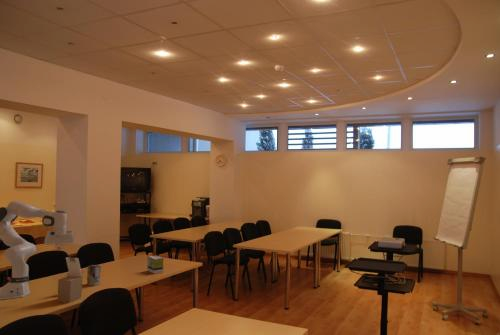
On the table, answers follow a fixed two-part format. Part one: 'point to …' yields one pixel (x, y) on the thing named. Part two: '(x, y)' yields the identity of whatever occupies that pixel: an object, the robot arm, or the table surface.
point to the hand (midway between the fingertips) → (58, 249)
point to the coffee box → (93, 275)
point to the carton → (69, 289)
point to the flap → (73, 266)
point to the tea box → (155, 264)
